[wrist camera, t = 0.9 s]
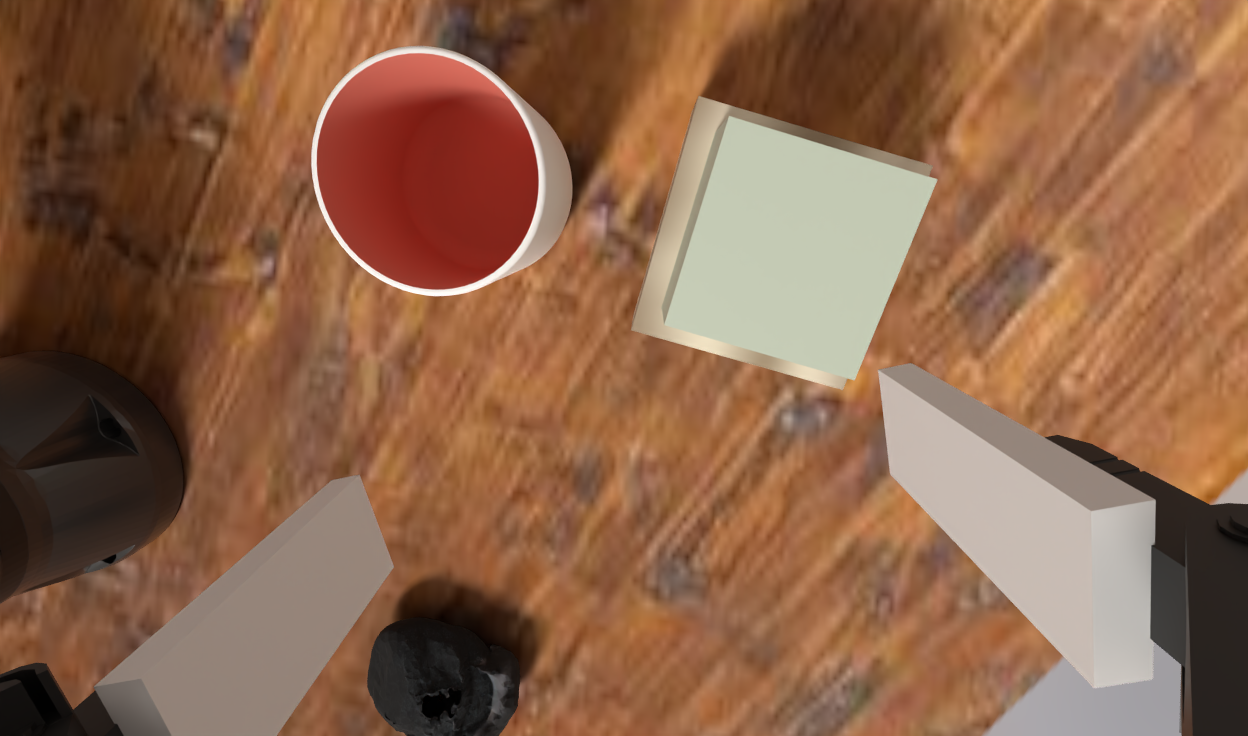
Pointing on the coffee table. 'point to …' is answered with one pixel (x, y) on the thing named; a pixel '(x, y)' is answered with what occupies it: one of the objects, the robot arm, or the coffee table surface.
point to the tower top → (793, 247)
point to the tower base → (675, 220)
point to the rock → (442, 680)
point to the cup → (438, 172)
